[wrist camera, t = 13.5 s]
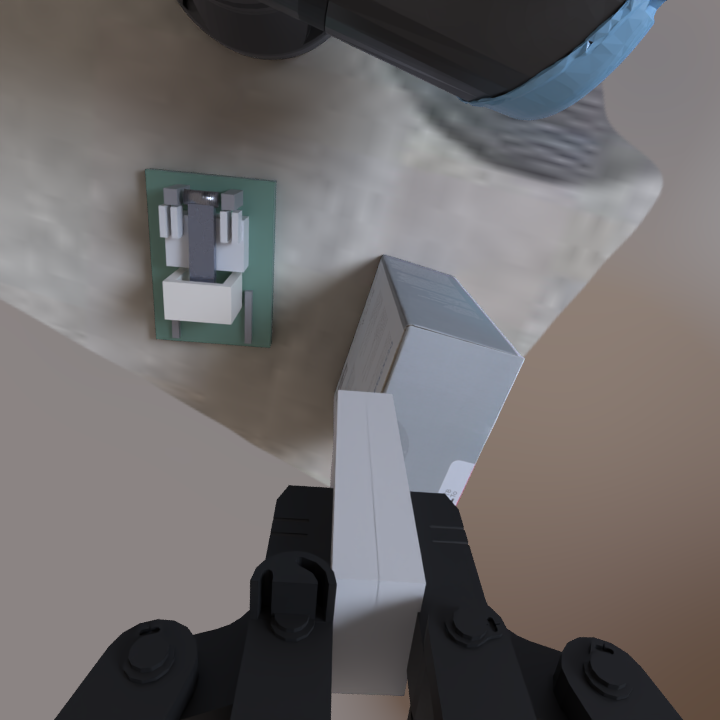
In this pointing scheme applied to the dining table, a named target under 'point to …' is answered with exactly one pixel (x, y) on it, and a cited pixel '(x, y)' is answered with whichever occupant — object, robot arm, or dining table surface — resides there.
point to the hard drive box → (431, 370)
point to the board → (249, 277)
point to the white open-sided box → (202, 298)
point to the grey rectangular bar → (202, 233)
